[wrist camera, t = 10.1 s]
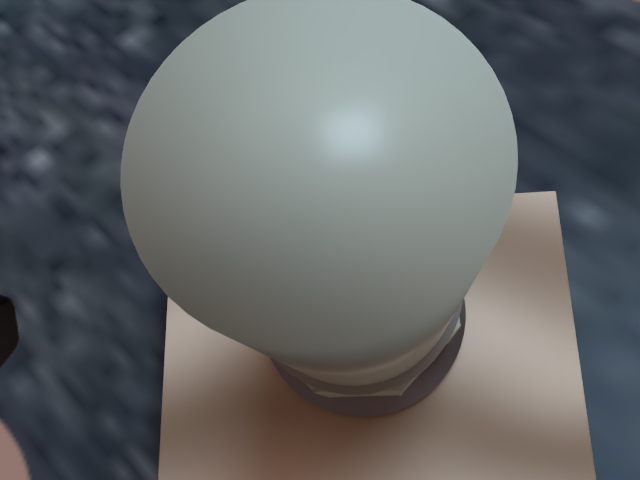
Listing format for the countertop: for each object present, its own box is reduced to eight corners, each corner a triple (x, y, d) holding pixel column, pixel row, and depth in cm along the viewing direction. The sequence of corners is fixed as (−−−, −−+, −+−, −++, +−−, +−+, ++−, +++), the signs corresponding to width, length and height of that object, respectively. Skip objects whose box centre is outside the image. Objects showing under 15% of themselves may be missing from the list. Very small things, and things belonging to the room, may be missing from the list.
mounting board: (612, 706, 18) (686, 803, 14) (163, 692, 20) (93, 776, 15) (545, 205, 23) (583, 151, 18) (185, 225, 24) (136, 181, 20)
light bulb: (455, 397, 19) (562, 362, 7) (277, 401, 20) (88, 377, 8) (441, 226, 21) (508, -47, 9) (277, 235, 22) (122, -9, 9)
